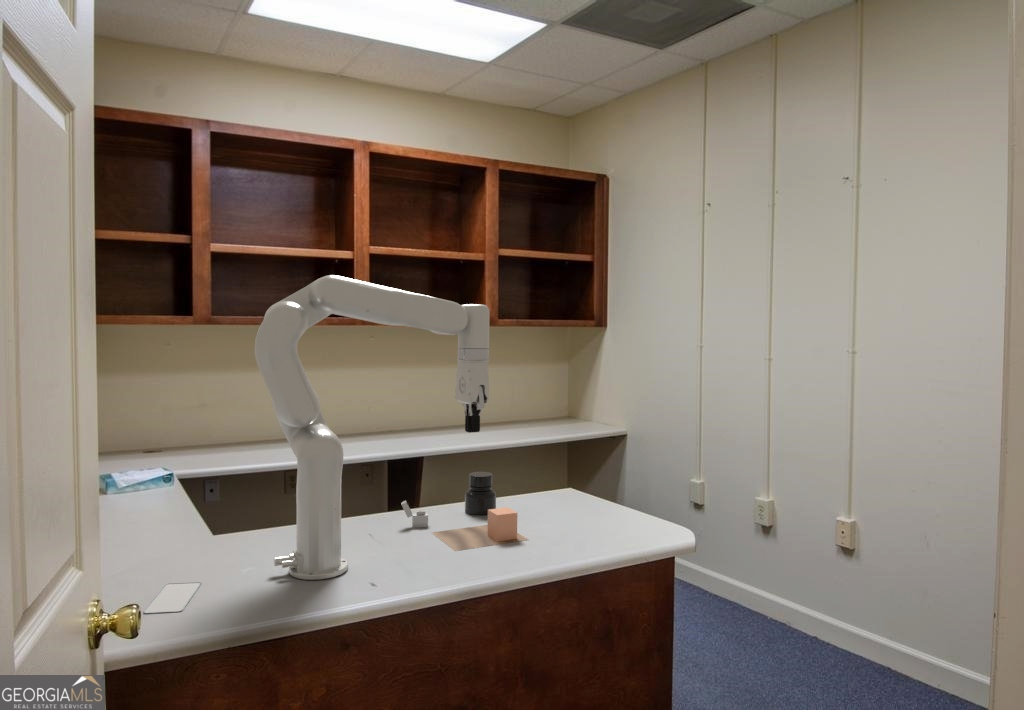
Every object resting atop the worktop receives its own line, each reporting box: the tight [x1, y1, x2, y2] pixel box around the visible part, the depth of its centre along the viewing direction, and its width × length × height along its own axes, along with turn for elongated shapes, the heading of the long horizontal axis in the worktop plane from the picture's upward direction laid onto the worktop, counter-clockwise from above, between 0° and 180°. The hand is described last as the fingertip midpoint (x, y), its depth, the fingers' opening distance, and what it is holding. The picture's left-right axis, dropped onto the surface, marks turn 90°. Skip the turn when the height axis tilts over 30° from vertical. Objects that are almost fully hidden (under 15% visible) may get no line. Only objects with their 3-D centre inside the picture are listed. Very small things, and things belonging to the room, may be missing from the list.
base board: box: [430, 524, 529, 552], centre depth 176 cm, size 20×16×1 cm
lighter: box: [400, 500, 429, 528], centre depth 184 cm, size 7×2×8 cm, turn 98°
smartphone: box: [142, 581, 202, 615], centre depth 138 cm, size 7×1×15 cm
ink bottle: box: [464, 471, 497, 517], centre depth 199 cm, size 10×9×12 cm
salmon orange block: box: [487, 506, 518, 541], centre depth 176 cm, size 6×6×7 cm
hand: (472, 431), depth 167 cm, fingers closed
